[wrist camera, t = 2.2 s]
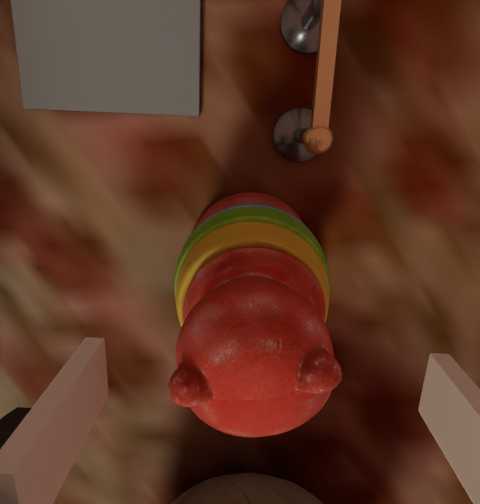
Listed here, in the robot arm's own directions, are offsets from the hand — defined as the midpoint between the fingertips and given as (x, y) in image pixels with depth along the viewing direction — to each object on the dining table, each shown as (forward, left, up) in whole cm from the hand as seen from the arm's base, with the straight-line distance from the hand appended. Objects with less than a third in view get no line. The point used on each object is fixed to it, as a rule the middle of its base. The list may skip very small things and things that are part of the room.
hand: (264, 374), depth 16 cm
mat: (-10, +16, -16) cm, 25 cm away
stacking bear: (0, 0, -16) cm, 16 cm away
